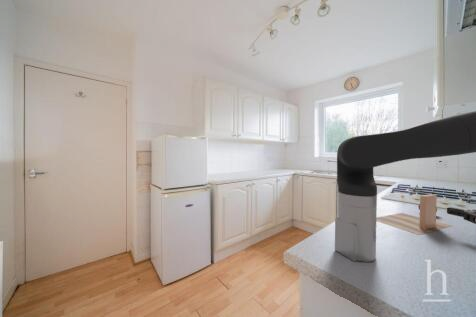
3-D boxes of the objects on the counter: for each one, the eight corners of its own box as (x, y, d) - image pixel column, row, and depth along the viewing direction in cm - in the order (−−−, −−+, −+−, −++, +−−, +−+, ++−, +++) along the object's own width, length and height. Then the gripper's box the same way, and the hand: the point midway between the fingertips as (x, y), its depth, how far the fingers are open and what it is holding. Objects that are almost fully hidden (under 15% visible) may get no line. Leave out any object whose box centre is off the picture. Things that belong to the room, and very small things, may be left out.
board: (419, 237, 60) (419, 234, 60) (369, 221, 75) (369, 218, 75) (452, 228, 68) (452, 225, 68) (402, 214, 83) (402, 212, 83)
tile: (425, 229, 64) (426, 196, 64) (419, 227, 66) (420, 195, 66) (435, 226, 67) (436, 195, 67) (430, 225, 68) (430, 194, 68)
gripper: (556, 212, 47) (458, 197, 64) (538, 219, 43) (437, 201, 59) (554, 240, 48) (457, 218, 64) (536, 249, 43) (436, 223, 59)
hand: (448, 210), depth 61 cm, fingers closed
